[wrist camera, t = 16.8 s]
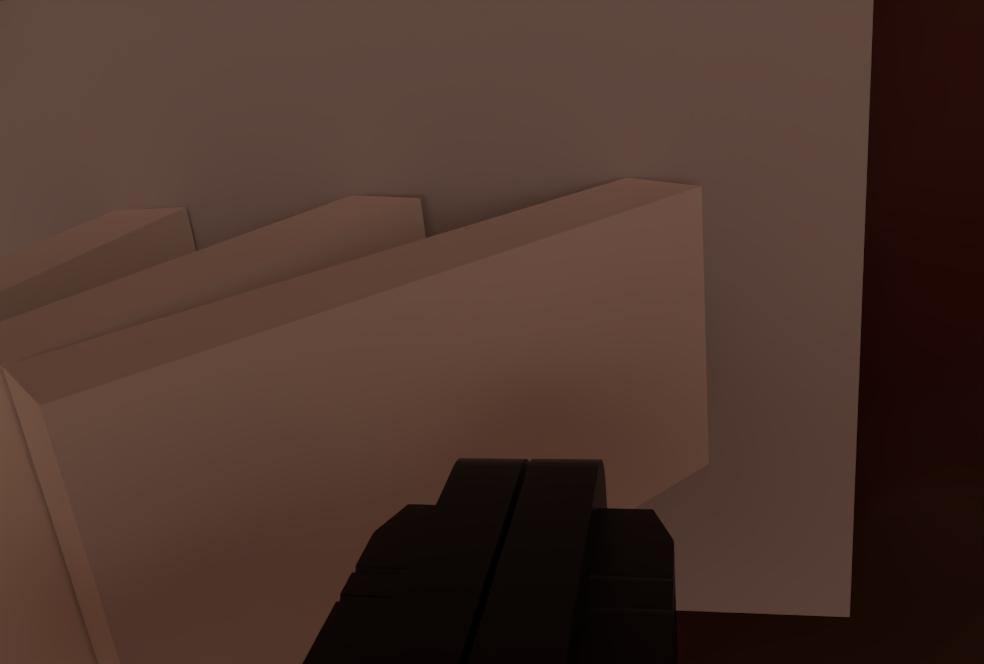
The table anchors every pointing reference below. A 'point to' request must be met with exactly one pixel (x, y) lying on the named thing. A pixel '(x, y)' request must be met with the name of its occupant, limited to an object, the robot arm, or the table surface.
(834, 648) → the table surface
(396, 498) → the ivory domino
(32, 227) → the grey rubber mat
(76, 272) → the ivory domino
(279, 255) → the ivory domino
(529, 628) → the robot arm
